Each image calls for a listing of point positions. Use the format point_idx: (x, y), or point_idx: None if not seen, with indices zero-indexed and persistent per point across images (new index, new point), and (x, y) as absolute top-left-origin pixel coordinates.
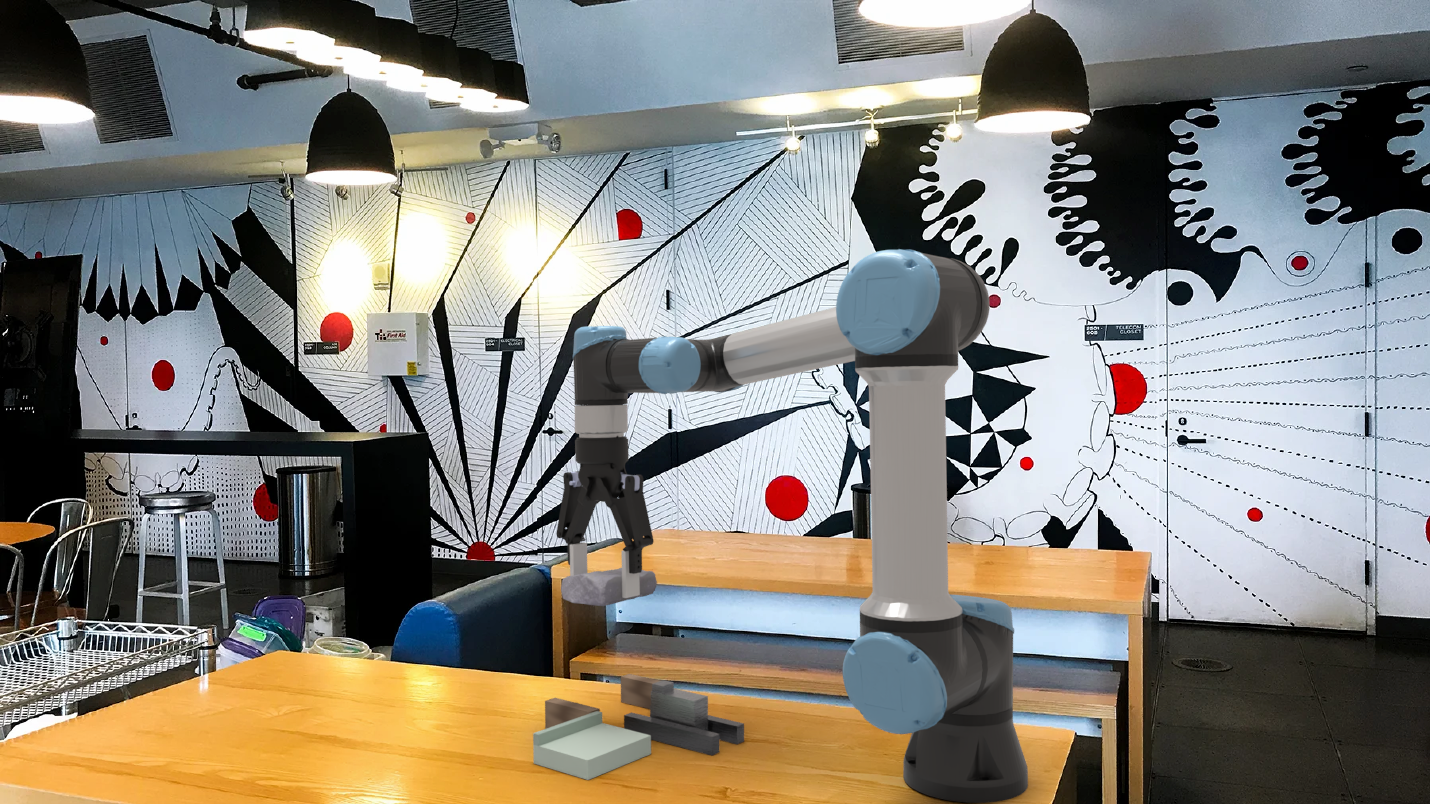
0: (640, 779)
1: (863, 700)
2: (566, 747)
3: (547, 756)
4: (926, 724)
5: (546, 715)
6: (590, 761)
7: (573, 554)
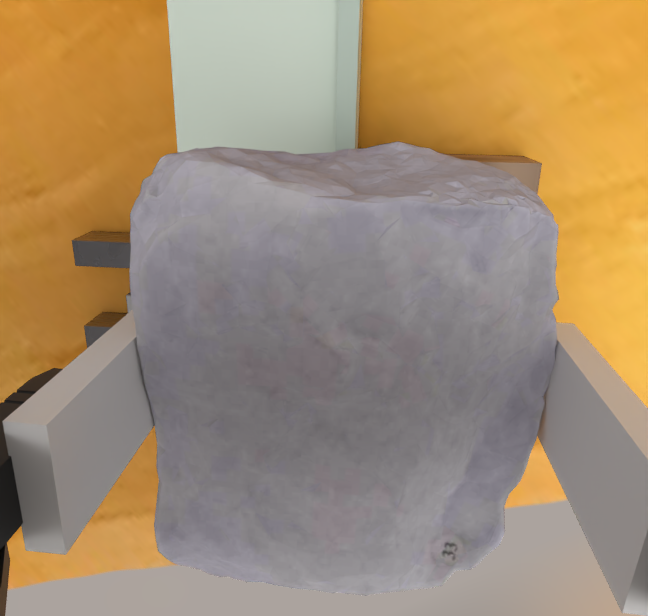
0: (97, 21)
1: None
2: None
3: None
4: None
5: (526, 159)
6: None
7: (625, 431)
